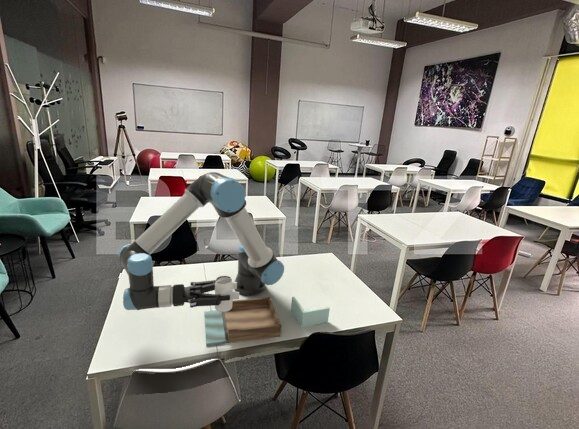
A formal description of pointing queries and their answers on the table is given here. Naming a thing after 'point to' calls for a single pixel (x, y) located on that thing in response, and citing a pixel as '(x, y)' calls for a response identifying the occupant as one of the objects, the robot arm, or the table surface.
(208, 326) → the grooved wooden tray
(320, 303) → the table surface
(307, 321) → the l-shaped corner panel
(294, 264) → the table surface
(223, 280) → the can
